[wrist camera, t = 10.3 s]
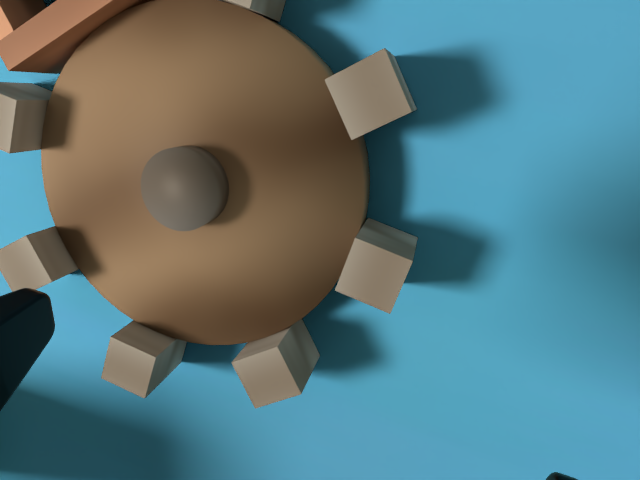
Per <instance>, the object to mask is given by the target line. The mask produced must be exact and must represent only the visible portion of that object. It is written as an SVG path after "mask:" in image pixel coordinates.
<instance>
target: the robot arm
mask: <svg viewBox="0 0 640 480" xmlns="http://www.w3.org/2000/svg"><path fill="white" fill-rule="evenodd" d="M54 329H55V322H54V317H53V311H52V306H51V300H50V297H49V296H48V295H47V294H45V293H43V292H40V291H37V290H34V289H31V288H22V289H19V290H16V291H13V292H11V293H8V294H5V295H3V296H0V411H1V410H2V408H3V407H4V405H5V404H6V403H7V401H8V400H9V399H10V397H11V396H12V394H13V393H14V391H15V390H16V389H17V387H18V386H19V384H20V383H21V381H22V380H23V378H24V377H25V376H26V374H27V373H28V371H29V370H30V368H31V367H32V365H33V364H34V362H35V361H36V360H37V358H38V357H39V355H40V354H41V352H42V351H43V349H44V348H45V346H46V345H47V344H48V342H49V341H50V339H51V337H52V335H53V333H54ZM546 480H577V479H575V478H573V477H570V476H567V475H564V474H561V473H558V472H554V473H551V474H550V475H549V476H548V477H547V479H546Z"/></svg>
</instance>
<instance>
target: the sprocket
mask: <svg viewBox="0 0 640 480" xmlns="http://www.w3.org/2000/svg"><path fill="white" fill-rule="evenodd" d="M223 1H224V2H223ZM285 2H286V0H221V1H219V0H57V1H55V2H54V3H52V4H51V5H49V6H48V7H46V5H45V3H44V1H43V0H0V56H1V58H2V60H3V61H4V63H5V65H6V67H7V69H8V71H21V72H37V73H54V74H58V73H59V72H61V71H62V72H61V73H60V75H59V77H58V79H57V81H56V83H55V85H54V88H53V91H50V90H47V89H45V88H42V87H40V86H37V85H35V84H32V83H7V82H0V150H3V151H5V152H7V153H16V152H24V151H32V150H40V149H41V160H42V174H43V181H44V189H45V193H46V197H47V201H48V205H49V209H50V212H51V215H52V217H53V220H54V223H55V226H54V227H51V228H48V229H45V230H42V231H38V232H35V233H32V234H29V235H26V236H24V237H22V238H20V239H19V240H17V241H15V242H13V243H11V244H9V245H7V246H5V247H3V248H1V249H0V271H1V273H2V274H3V276H4V278H5V280H6V281H7V283H8V285H9V287H10V288H11V290H12V292H13V291H16V290H19V289H22V288H31V289H34V290H36V289H38V288H40V287H42V286H44V285H46V284H48V283H51V282H53V281H55V280H57V279H59V278H61V277H63V276H66V275H68V274H70V273H72V272H74V271H76V270H78V269H80V271H81V272H82V273H83V274H84V276H85V277H86V278H87V280H88V281H89V282H90V283H91V284H92V285H93V286H94V287H95V288H96V290H97V291H98V292H99V293H100V294H101V295H102V296H103V297H104V298H105V299H107V300H108V301H109V302H110V303H111V304H112V305H114V306H115V307H116V308H117V309H118V310H120V311H121V312H123V313H124V314H126V315H127V316H129V317H130V318H132V319H133V320H134V321H132V322H131V323H129V324H128V325H127V326H125V327H124V328H122V329H121V330H119V331H118V332H117V333H115V334H114V335H112V336H111V337H110V342H109V346H108V350H107V355H106V359H105V363H104V368H103V372H102V376H101V378H102V379H104V380H106V381H109V382H111V383H113V384H115V385H117V386H119V387H121V388H123V389H125V390H128V391H130V392H132V393H134V394H136V395H138V396H140V397H142V398H146V397H147V396H148V395H149V394H150V393H151V392H152V391H153V390H154V389H155V388H156V387H157V386H158V385H159V384H160V383H161V382H162V381H163V380H164V379H165V378H166V377H167V376H168V375H169V374H170V373H171V372H172V371H173V370H174V369H175V368H176V367H177V366H178V365H179V364H180V363H181V361H182V357H183V354H184V351H185V347H186V344H187V342H191V343H198V344H206V345H232V344H239V343H247V342H248V343H247V344H246V345H245V347H244V348H243V349H242V350H241V352H240V353H239V354H238V355H237V356H236V358H235V359H234V360H233V361H232V365H233V367H234V369H235V371H236V372H237V374H238V376H239V378H240V380H241V382H242V384H243V386H244V388H245V390H246V392H247V394H248V396H249V398H250V400H251V401H252V403H253V405H254V407H255V408H258V407H261V406H265V405H268V404H271V403H274V402H278V401H281V400H284V399H287V398H290V397H294V396H297V395H300V394H301V393H302V391H303V389H304V387H305V385H306V383H307V381H308V379H309V377H310V375H311V373H312V371H313V369H314V367H315V365H316V363H317V361H318V359H319V357H320V355H319V353H318V350H317V348H316V346H315V344H314V342H313V340H312V338H311V336H310V334H309V332H308V330H307V328H306V326H305V324H304V322H303V320H302V318H303V317H304V316H306V315H307V314H308V313H309V312H310V311H312V310H313V309H314V308H315V307H316V306H317V305H318V304H319V303H320V302H321V301H322V300H323V299H324V298H325V296H326V295H327V294H328V293H329V292H330V291H331V290H332V288H333V287H334V285H335V284H336V282H337V280H338V279H339V281H338V283H337V286H336V289H335V291H337V292H340V293H342V294H344V295H347V296H349V297H351V298H354V299H356V300H359V301H361V302H363V303H366V304H368V305H370V306H373V307H375V308H378V309H380V310H382V311H385V312H387V313H389V314H390V313H391V311H392V308H393V306H394V304H395V301H396V299H397V297H398V294H399V292H400V290H401V288H402V285H403V283H404V281H405V278H406V276H407V274H408V271H409V269H410V267H411V265H412V262H413V258H414V254H415V249H416V244H417V239H418V237H415V236H413V235H410V234H408V233H405V232H403V231H400V230H398V229H395V228H393V227H390V226H388V225H385V224H383V223H380V222H378V221H375V220H373V219H370V218H368V219H367V220H366V215H367V209H368V203H369V190H370V171H369V161H368V152H367V148H366V143H365V139H364V134H366V133H369V132H371V131H373V130H375V129H377V128H379V127H381V126H383V125H385V124H388V123H390V122H392V121H394V120H396V119H398V118H400V117H402V116H405V115H407V114H409V113H411V112H413V111H415V110H417V108H416V106H415V104H414V101H413V99H412V97H411V94H410V92H409V89H408V87H407V85H406V82H405V80H404V78H403V75H402V73H401V71H400V68H399V66H398V64H397V61H396V59H395V56H394V55H393V54H391V53H390V52H389V51H388V50H386V49H385V48H384V49H382V50H380V51H378V52H376V53H374V54H372V55H370V56H369V57H367V58H365V59H363V60H361V61H359V62H357V63H355V64H353V65H351V66H349V67H348V68H346V69H344V70H342V71H340V72H338V73H336V74H334V73H333V72H332V70H331V69H330V67H329V66H328V65H327V64H326V63H325V62H324V61H323V60H322V59H321V57H320V56H319V55H318V54H317V53H316V52H315V51H314V50H313V49H312V48H311V47H310V46H308V45H307V44H306V43H305V42H304V41H302V40H301V39H300V38H299V37H298V36H296V35H295V34H294V33H292V32H290V31H289V30H287V29H286V28H284V27H282V26H281V25H279V24H278V23H276V22H274V21H272V20H269V19H267V18H270V19H273V20H276V21H278V22H280V19H281V15H282V12H283V9H284V5H285ZM258 14H259V15H258ZM260 15H262V16H260ZM263 16H264V17H263ZM265 17H267V18H265ZM365 221H366V222H365ZM339 277H340V278H339Z"/></svg>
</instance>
